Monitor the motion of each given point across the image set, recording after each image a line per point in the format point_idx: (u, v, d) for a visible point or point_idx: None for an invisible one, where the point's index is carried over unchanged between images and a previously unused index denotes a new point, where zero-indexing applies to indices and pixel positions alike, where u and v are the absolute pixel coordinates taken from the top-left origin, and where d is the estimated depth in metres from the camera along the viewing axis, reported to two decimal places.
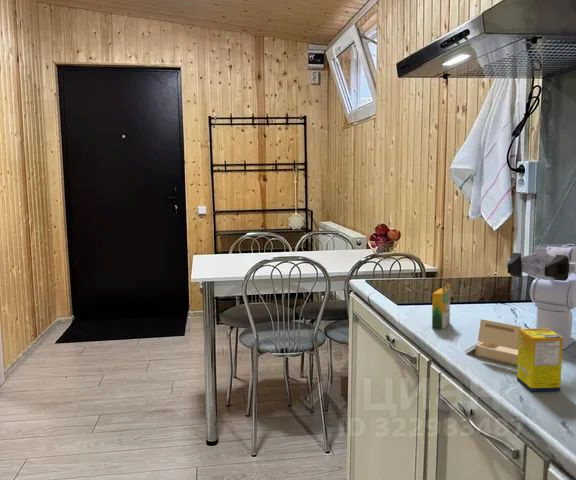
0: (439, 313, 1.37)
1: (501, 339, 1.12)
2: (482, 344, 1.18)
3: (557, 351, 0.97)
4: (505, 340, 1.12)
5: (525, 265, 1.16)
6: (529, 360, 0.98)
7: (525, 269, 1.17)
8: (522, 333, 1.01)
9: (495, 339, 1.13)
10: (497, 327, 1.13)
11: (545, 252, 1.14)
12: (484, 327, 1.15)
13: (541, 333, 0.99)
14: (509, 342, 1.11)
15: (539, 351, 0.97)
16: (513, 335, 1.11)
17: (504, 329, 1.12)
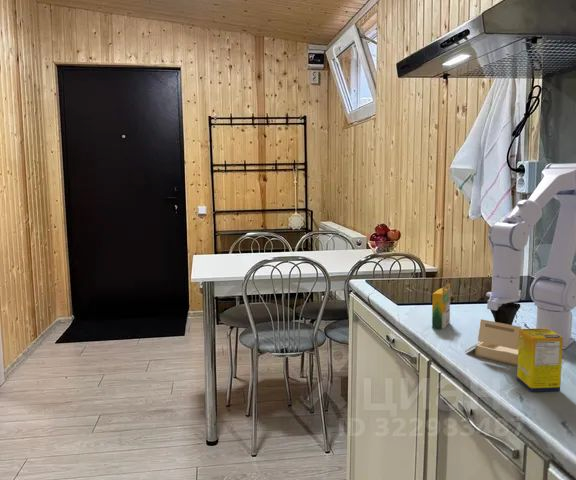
0: (439, 313, 1.37)
1: (501, 339, 1.12)
2: (482, 344, 1.18)
3: (557, 351, 0.97)
4: (505, 340, 1.12)
5: None
6: (529, 360, 0.98)
7: None
8: (522, 333, 1.01)
9: (495, 339, 1.13)
10: (497, 327, 1.13)
11: (489, 296, 1.15)
12: (484, 327, 1.15)
13: (541, 333, 0.99)
14: (509, 342, 1.11)
15: (539, 351, 0.97)
16: (513, 335, 1.11)
17: (504, 329, 1.12)
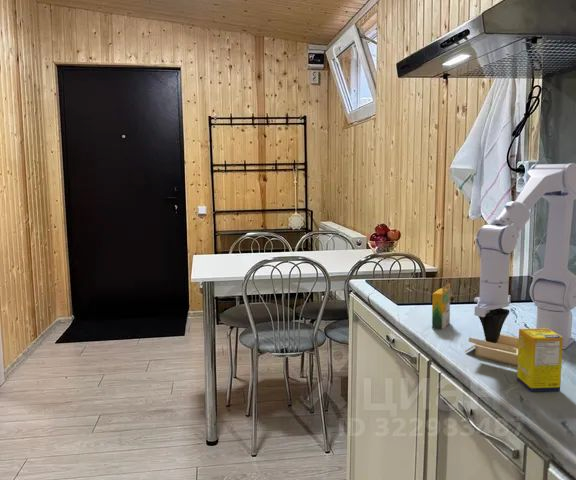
0: (439, 313, 1.37)
1: (497, 348, 1.11)
2: None
3: (557, 351, 0.97)
4: (501, 349, 1.10)
5: None
6: (529, 360, 0.98)
7: None
8: (522, 333, 1.01)
9: (492, 347, 1.12)
10: (487, 345, 1.10)
11: None
12: (476, 343, 1.12)
13: (541, 333, 0.99)
14: (506, 350, 1.10)
15: (539, 351, 0.97)
16: (506, 350, 1.08)
17: (495, 347, 1.09)
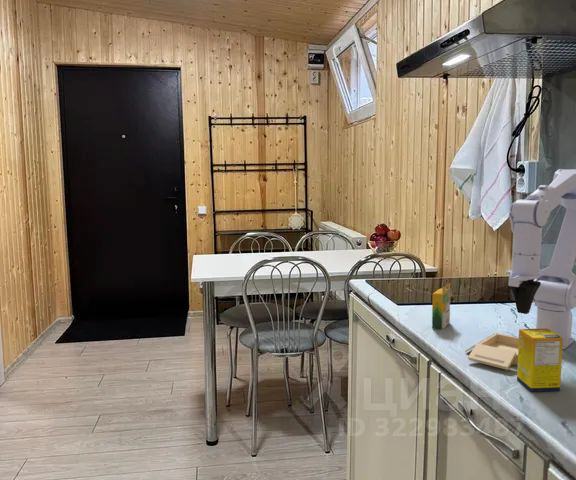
0: (439, 313, 1.37)
1: None
2: None
3: (557, 351, 0.97)
4: None
5: None
6: (529, 360, 0.98)
7: None
8: (522, 333, 1.01)
9: None
10: None
11: (509, 274, 1.15)
12: None
13: (541, 333, 0.99)
14: None
15: (539, 351, 0.97)
16: None
17: None
